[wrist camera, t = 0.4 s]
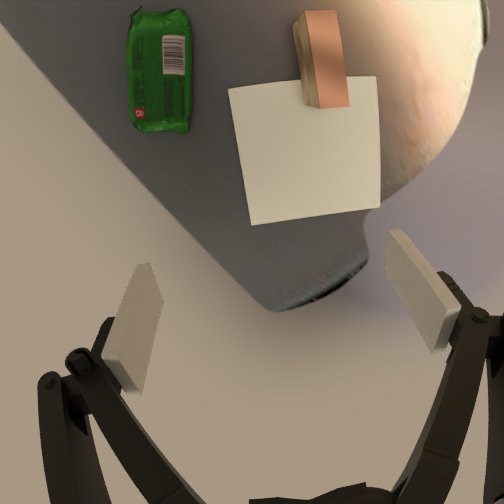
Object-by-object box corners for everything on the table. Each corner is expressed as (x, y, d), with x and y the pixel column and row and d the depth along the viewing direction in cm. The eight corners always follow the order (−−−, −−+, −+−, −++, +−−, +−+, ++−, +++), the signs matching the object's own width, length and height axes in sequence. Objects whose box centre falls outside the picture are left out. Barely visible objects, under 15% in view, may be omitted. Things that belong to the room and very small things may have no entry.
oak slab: (291, 26, 30) (304, 10, 23) (317, 24, 30) (335, 10, 23) (304, 105, 35) (319, 108, 28) (328, 102, 35) (349, 106, 28)
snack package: (196, 7, 29) (190, -2, 24) (195, 130, 37) (189, 139, 32) (137, 13, 28) (123, 6, 24) (139, 133, 36) (126, 142, 32)
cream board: (227, 88, 34) (227, 89, 34) (374, 76, 33) (375, 76, 33) (251, 224, 44) (251, 225, 43) (378, 206, 43) (379, 207, 42)
